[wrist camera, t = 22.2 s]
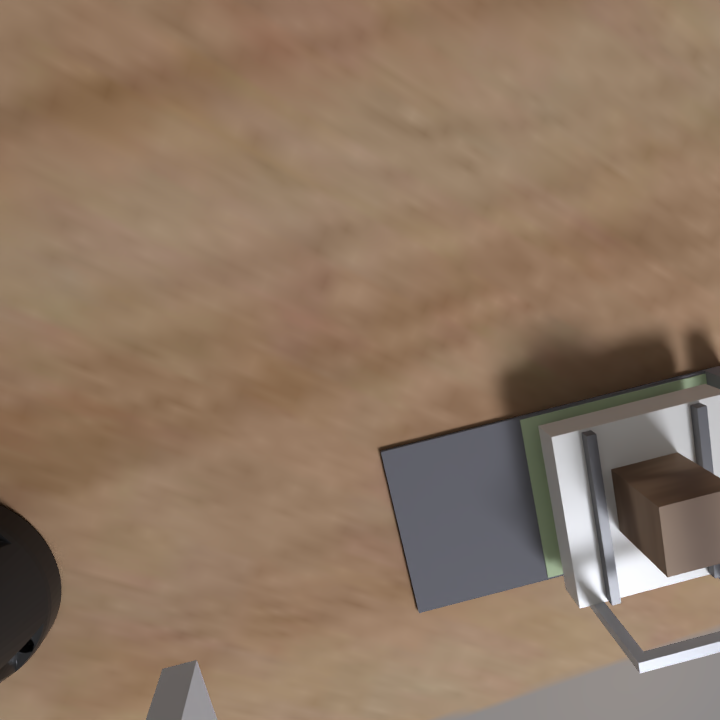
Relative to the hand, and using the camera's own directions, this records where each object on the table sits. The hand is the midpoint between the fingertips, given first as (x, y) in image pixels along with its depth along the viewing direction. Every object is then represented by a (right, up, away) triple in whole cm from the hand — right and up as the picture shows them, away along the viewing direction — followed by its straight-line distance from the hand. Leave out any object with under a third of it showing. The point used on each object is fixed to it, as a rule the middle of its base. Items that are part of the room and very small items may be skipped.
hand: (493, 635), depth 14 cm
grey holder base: (+13, -5, +35) cm, 37 cm away
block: (+18, -3, +30) cm, 35 cm away
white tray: (+18, -3, +35) cm, 39 cm away
